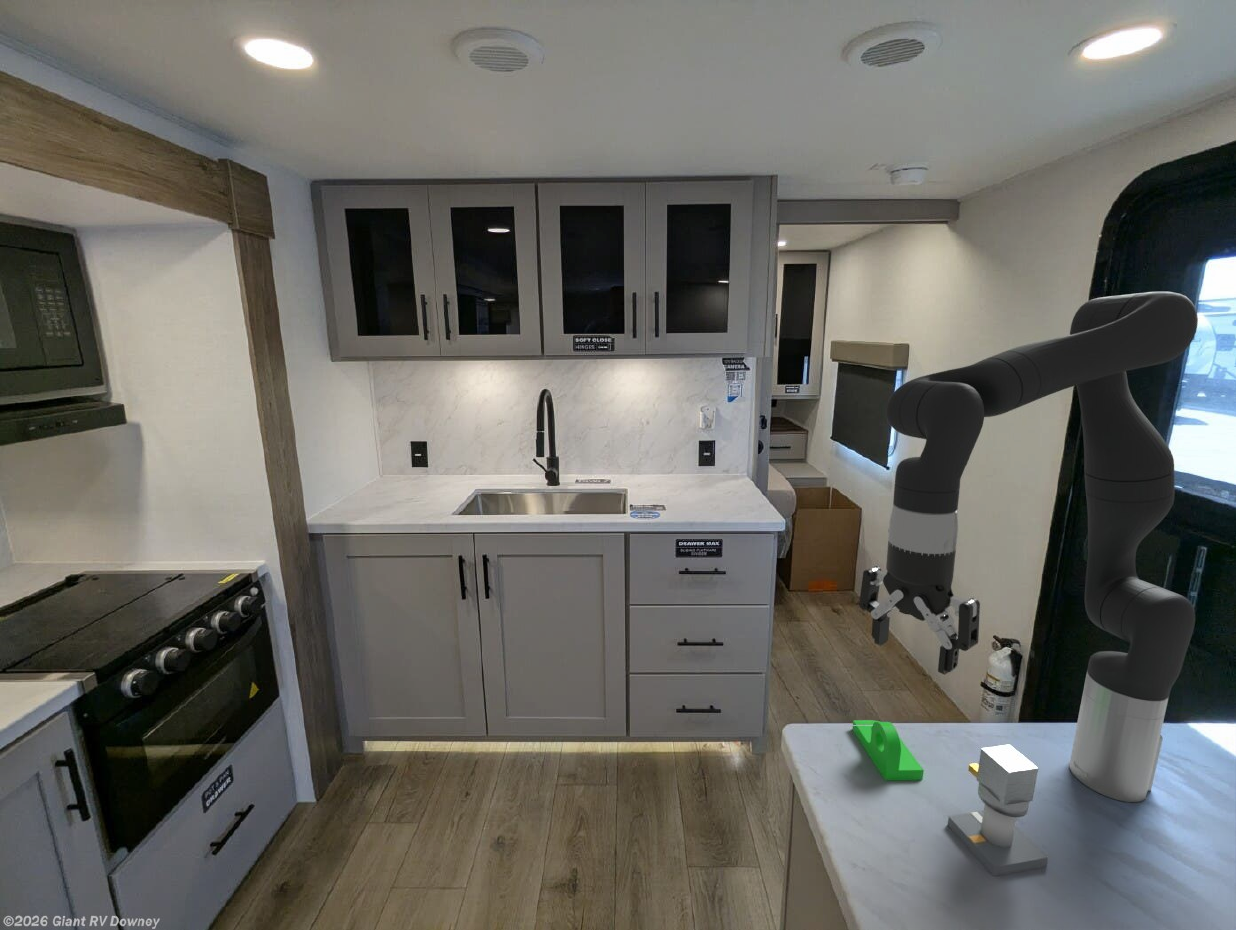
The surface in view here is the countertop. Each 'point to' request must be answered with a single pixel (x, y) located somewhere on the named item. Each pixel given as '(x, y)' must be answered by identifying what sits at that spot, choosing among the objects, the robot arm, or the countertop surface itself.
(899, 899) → the countertop surface
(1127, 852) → the countertop surface
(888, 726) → the mechanical part
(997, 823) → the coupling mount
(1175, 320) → the robot arm
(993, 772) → the collar
